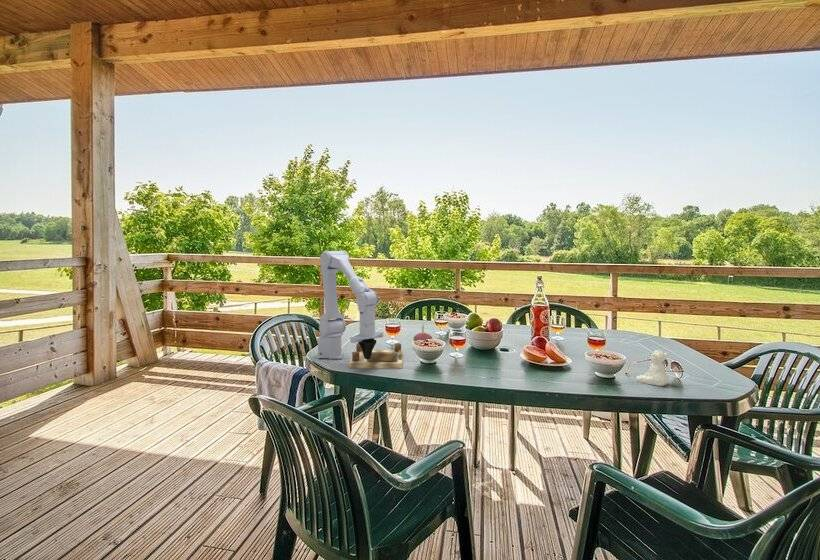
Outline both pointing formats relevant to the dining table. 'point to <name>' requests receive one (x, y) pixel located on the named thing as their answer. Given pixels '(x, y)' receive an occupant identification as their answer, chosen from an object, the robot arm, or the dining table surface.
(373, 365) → the stool seat
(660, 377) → the seated beast figurine
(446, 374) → the dining table surface
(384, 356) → the folding leg
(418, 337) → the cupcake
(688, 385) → the dining table surface
